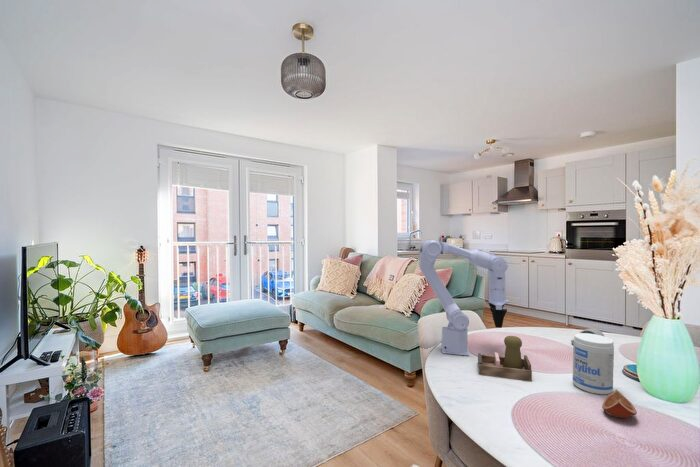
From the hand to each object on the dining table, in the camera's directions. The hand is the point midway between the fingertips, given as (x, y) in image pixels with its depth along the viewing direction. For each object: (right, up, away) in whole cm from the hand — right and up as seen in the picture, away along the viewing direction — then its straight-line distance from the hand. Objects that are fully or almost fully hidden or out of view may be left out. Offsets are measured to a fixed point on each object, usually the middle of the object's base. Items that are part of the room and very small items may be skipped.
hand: (497, 324), depth 126 cm
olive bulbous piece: (-3, -10, -18) cm, 21 cm away
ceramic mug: (+37, -10, +4) cm, 39 cm away
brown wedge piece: (+11, -11, -43) cm, 46 cm away
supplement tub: (+15, -11, -29) cm, 34 cm away
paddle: (-7, -10, -16) cm, 20 cm away
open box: (-6, -11, -17) cm, 21 cm away
